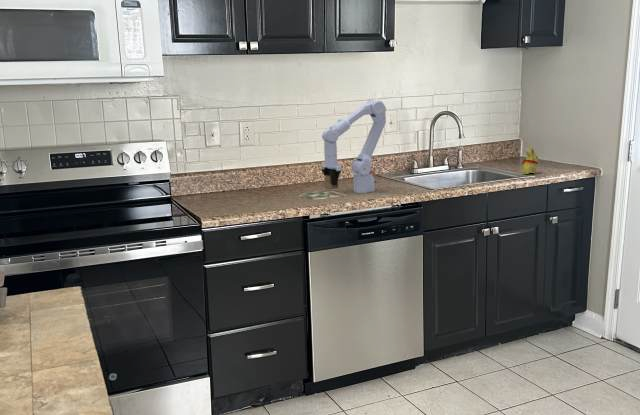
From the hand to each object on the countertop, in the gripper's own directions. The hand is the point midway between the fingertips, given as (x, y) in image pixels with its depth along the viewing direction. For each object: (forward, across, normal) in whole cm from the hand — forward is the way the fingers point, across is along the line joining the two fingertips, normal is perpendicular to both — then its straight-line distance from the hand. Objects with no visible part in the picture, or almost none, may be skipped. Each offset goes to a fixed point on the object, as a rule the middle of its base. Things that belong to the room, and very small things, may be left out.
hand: (331, 184), depth 295 cm
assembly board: (+6, 0, -5) cm, 7 cm away
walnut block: (+2, 0, 0) cm, 2 cm away
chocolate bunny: (+6, +11, +116) cm, 117 cm away
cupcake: (+6, -22, +34) cm, 41 cm away
